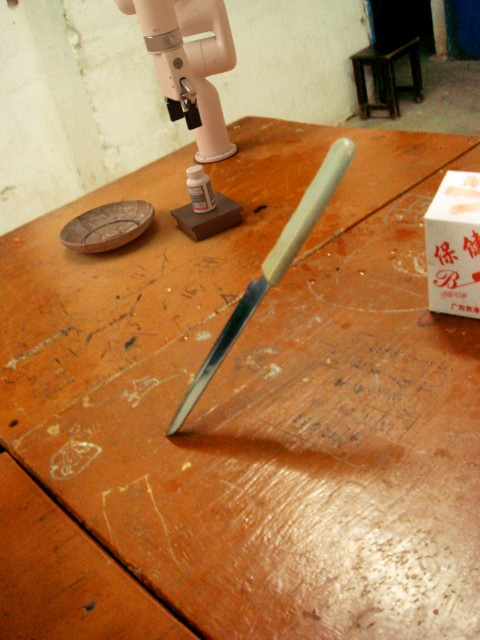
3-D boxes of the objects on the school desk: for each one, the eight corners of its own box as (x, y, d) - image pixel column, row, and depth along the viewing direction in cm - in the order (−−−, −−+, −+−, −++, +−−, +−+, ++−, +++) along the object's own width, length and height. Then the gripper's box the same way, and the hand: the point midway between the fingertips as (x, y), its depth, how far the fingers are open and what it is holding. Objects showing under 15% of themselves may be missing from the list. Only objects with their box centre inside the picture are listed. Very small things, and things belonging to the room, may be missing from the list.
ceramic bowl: (175, 232, 150) (169, 213, 147) (83, 274, 142) (75, 255, 139) (138, 207, 168) (132, 190, 165) (54, 244, 160) (46, 226, 157)
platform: (174, 226, 153) (169, 211, 150) (221, 206, 156) (218, 191, 154) (195, 243, 142) (191, 227, 140) (246, 221, 146) (242, 205, 144)
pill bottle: (207, 201, 150) (196, 162, 145) (221, 205, 146) (210, 165, 141) (189, 211, 148) (178, 171, 143) (203, 215, 144) (191, 175, 139)
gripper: (197, 38, 123) (218, 125, 132) (165, 32, 137) (186, 111, 146) (162, 51, 121) (186, 137, 130) (133, 43, 135) (156, 122, 144)
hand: (186, 123), depth 138 cm, fingers open, 9 cm apart
